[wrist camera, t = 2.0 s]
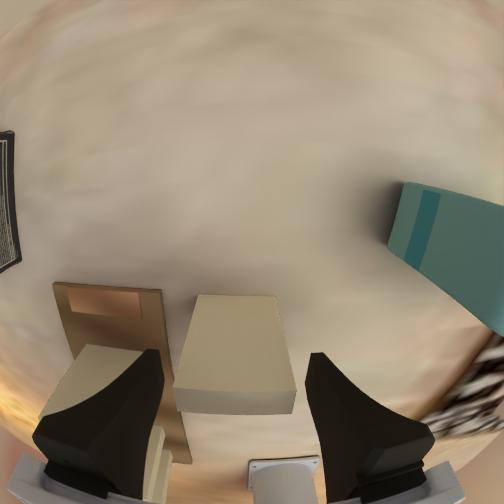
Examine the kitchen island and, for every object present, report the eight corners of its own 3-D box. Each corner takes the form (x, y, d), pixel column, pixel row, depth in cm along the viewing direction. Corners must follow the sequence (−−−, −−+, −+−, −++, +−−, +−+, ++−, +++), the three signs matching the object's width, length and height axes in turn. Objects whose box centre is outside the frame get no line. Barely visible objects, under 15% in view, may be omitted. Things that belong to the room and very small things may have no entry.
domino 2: (165, 435, 23) (150, 505, 14) (119, 427, 22) (97, 491, 14) (162, 426, 22) (146, 499, 14) (115, 418, 22) (90, 484, 14)
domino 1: (145, 367, 20) (113, 454, 11) (91, 358, 19) (48, 433, 11) (142, 351, 19) (105, 440, 11) (86, 343, 19) (37, 417, 11)
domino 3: (172, 457, 24) (162, 519, 16) (131, 449, 24) (115, 508, 16) (170, 450, 24) (159, 515, 15) (127, 442, 23) (109, 503, 15)
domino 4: (273, 317, 19) (291, 413, 11) (199, 315, 19) (177, 411, 11) (275, 296, 18) (296, 389, 10) (198, 294, 18) (172, 387, 10)
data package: (377, 244, 18) (505, 346, 6) (395, 178, 16) (551, 222, 5) (480, 270, 19) (573, 336, 7) (495, 222, 17) (597, 271, 6)
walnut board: (192, 461, 25) (192, 465, 24) (120, 449, 25) (119, 453, 24) (161, 289, 18) (159, 293, 17) (55, 281, 18) (51, 285, 17)
